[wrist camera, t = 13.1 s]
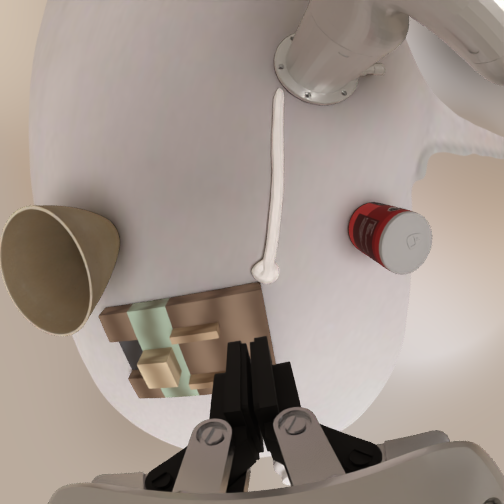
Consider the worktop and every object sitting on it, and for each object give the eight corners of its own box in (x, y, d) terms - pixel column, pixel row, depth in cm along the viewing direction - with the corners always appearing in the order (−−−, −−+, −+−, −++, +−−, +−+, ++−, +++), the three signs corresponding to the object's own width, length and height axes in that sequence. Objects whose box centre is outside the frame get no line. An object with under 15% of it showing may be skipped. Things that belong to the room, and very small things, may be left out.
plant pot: (60, 195, 36) (-9, 209, 20) (140, 190, 36) (83, 202, 21) (69, 283, 39) (14, 326, 24) (145, 289, 40) (104, 346, 25)
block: (171, 346, 40) (166, 362, 36) (181, 370, 41) (177, 386, 37) (143, 350, 40) (136, 364, 36) (154, 373, 41) (149, 388, 37)
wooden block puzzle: (259, 281, 41) (262, 297, 35) (277, 372, 46) (281, 393, 40) (105, 307, 41) (91, 323, 36) (143, 388, 46) (135, 407, 40)
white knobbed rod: (257, 88, 34) (258, 82, 31) (286, 90, 34) (289, 84, 31) (250, 280, 41) (251, 287, 38) (277, 280, 41) (280, 288, 39)
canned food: (398, 228, 40) (440, 245, 29) (364, 261, 41) (399, 288, 30) (374, 190, 38) (415, 197, 27) (337, 224, 39) (369, 242, 28)
